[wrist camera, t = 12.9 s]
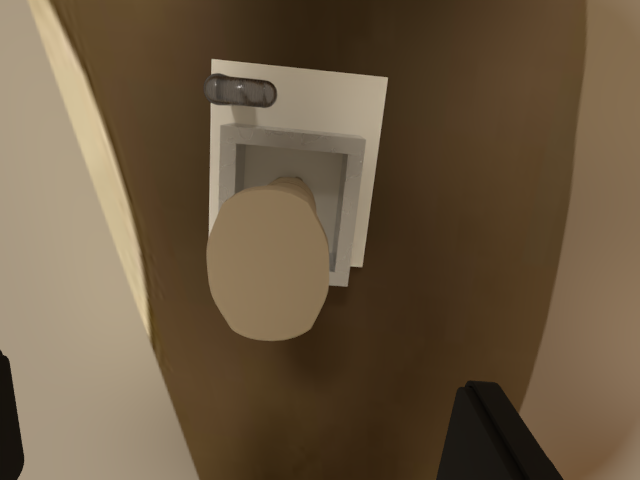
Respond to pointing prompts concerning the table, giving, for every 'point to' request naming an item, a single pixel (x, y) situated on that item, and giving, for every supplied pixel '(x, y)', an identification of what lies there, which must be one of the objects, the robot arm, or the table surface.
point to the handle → (269, 260)
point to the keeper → (299, 144)
